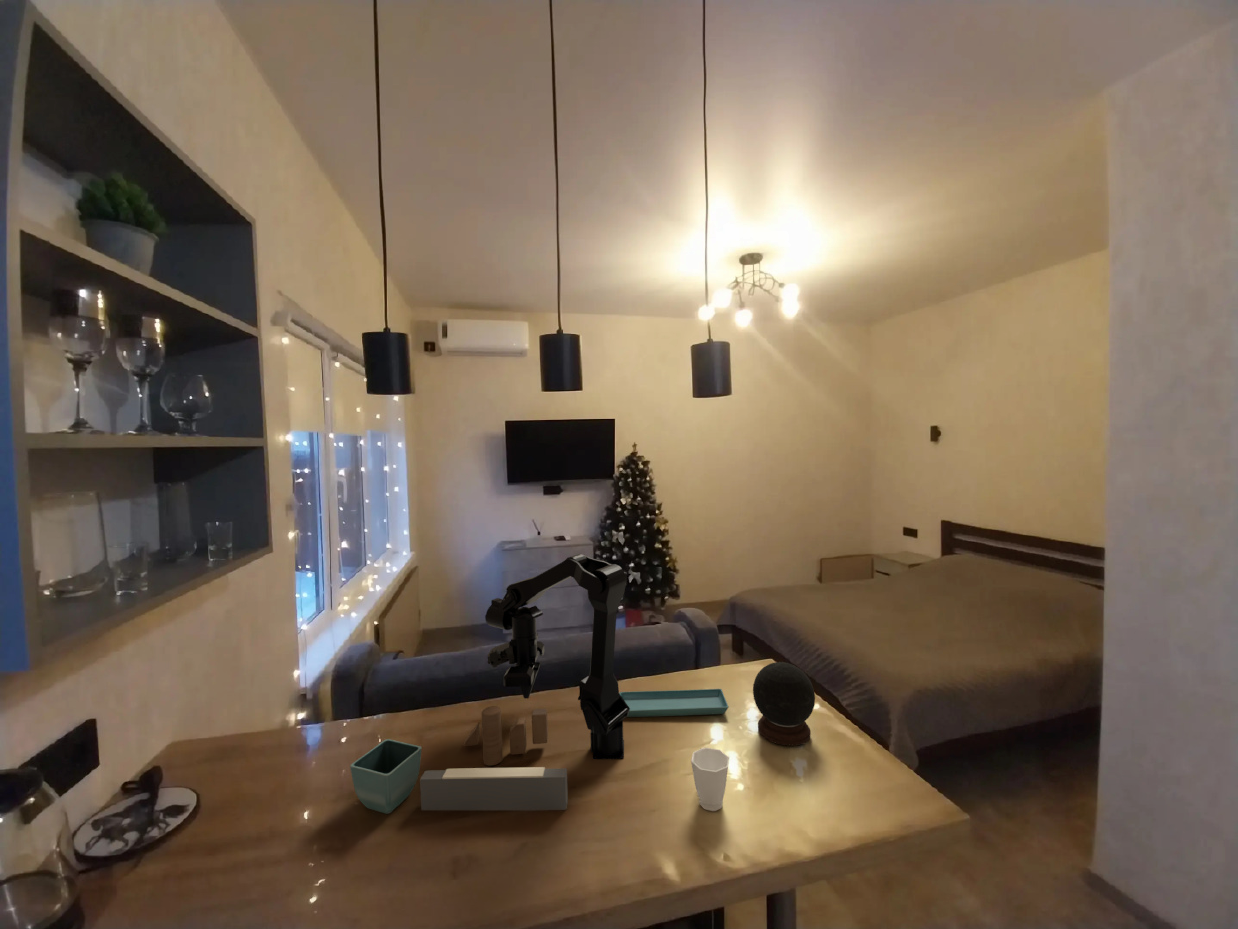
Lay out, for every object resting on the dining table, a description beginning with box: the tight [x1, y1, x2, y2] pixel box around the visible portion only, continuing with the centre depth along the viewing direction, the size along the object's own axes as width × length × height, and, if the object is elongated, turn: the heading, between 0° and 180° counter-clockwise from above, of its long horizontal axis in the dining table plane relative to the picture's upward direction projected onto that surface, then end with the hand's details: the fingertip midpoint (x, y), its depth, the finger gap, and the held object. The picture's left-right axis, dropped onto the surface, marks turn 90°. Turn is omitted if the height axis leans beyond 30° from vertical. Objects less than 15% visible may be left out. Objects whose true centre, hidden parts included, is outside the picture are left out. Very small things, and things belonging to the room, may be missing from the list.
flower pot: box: [349, 738, 423, 815], centre depth 92 cm, size 9×9×9 cm
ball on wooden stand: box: [752, 661, 816, 747], centre depth 111 cm, size 13×13×15 cm
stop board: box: [419, 766, 569, 811], centre depth 90 cm, size 26×2×6 cm, turn 89°
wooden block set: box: [462, 705, 549, 767], centre depth 106 cm, size 18×9×10 cm, turn 94°
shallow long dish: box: [619, 688, 729, 718], centre depth 123 cm, size 26×9×2 cm, turn 89°
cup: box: [690, 747, 730, 812], centre depth 91 cm, size 7×10×8 cm
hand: (526, 697), depth 119 cm, fingers closed
